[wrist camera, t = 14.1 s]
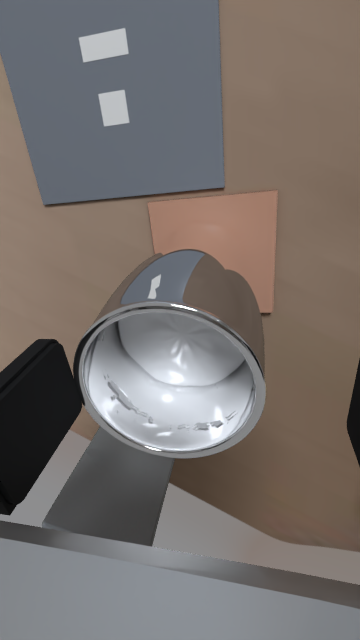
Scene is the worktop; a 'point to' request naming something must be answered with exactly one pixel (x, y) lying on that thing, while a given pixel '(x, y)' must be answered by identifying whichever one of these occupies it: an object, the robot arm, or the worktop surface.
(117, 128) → the blue-grey tile
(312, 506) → the worktop surface
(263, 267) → the coaster
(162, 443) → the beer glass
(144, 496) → the skincare box
